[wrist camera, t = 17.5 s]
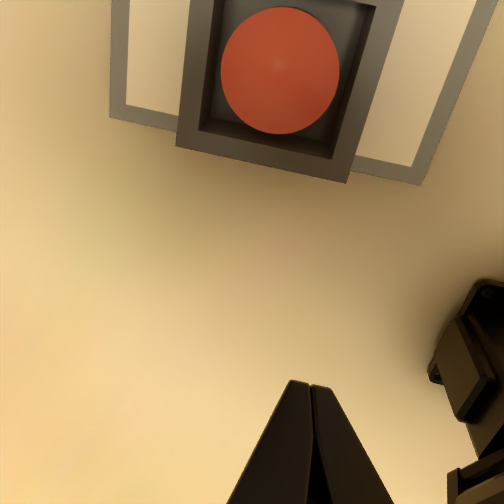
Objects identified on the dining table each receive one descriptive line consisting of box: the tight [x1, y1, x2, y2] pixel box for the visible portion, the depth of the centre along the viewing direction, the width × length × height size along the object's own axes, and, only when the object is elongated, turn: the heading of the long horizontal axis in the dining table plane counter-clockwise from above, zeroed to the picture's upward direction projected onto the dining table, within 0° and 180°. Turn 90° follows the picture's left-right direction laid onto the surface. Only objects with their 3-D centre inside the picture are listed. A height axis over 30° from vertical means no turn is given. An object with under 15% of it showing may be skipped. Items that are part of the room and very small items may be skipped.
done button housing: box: [176, 0, 405, 184], centre depth 15 cm, size 6×6×3 cm
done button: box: [221, 6, 339, 134], centre depth 14 cm, size 4×4×2 cm
